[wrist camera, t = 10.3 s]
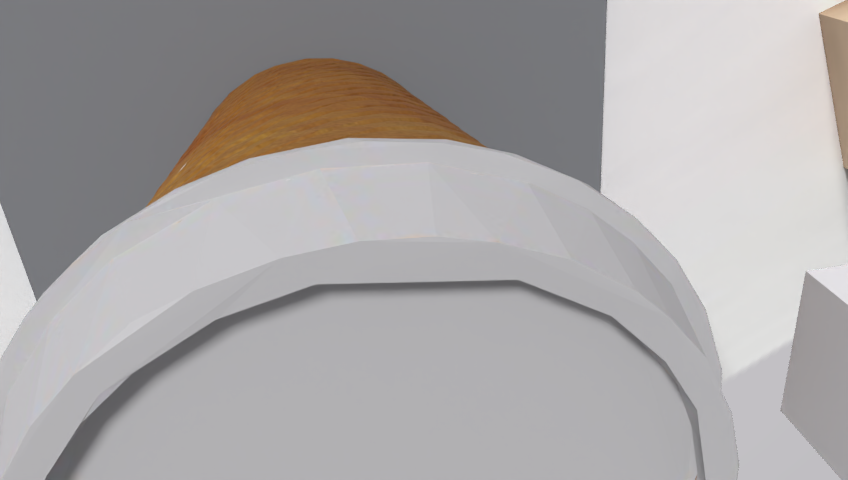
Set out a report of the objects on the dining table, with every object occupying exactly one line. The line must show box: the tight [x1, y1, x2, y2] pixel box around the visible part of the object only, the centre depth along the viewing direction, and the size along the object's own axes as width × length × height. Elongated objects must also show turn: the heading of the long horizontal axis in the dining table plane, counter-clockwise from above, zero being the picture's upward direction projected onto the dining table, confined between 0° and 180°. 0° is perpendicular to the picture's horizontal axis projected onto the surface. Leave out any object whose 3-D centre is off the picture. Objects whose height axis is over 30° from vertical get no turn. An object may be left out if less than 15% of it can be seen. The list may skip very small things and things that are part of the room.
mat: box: [0, 0, 607, 301], centre depth 20 cm, size 15×15×1 cm
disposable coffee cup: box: [0, 58, 739, 480], centre depth 14 cm, size 10×10×12 cm
